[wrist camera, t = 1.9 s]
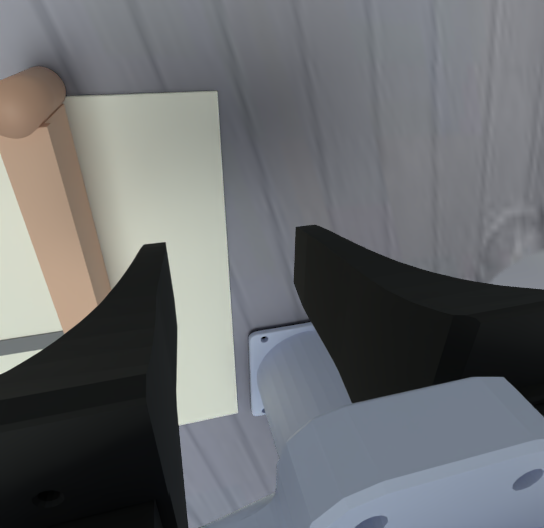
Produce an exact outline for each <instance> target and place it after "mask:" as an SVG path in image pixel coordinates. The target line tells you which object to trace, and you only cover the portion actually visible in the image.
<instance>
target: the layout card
mask: <svg viewBox="0 0 544 528" xmlns="http://www.w3.org/2000/svg"><path fill="white" fill-rule="evenodd" d="M62 104H64V106H65V110H66V114H67V118H68V122H69V126H70V130H71V134H72V138H73V142H74V146H75V150H76V154H77V158H78V162H79V165H80V169H81V173H82V177H83V181H84V185H85V189H86V193H87V197H88V201H89V205H90V209H91V213H92V217H93V221H94V225H95V228H96V232H97V236H98V240H99V244H100V248H101V252H102V256H103V260H104V264H105V268H106V272H107V276H108V280H109V284H110V288H111V290H112V289H113V288H114V286H115V285H116V284H117V283H118V281H119V280H120V279H121V277H122V276H123V275H124V273H125V272H126V270H127V269H128V268H129V266H130V264H131V263H132V261H133V260H134V258H135V257H136V255H137V253H138V252H139V250H140V248H141V247H142V246H143V245H144V244H152V243H161V242H166V248H167V254H168V261H169V267H170V274H171V280H172V286H173V293H174V299H175V309H176V318H177V327H178V328H177V383H176V395H177V413H178V424H179V425H184V424H188V423H193V422H198V421H202V420H207V419H212V418H217V417H221V416H226V415H231V414H235V413H238V407H237V391H236V376H235V360H234V344H233V328H232V313H231V297H230V281H229V265H228V250H227V234H226V218H225V202H224V187H223V171H222V155H221V139H220V124H219V108H218V92H217V91H196V92H169V93H141V94H113V95H85V96H65V100H64V102H63V103H62ZM62 335H64V332H63V329H62V326H61V324H60V321H59V318H58V315H57V312H56V309H55V307H54V304H53V301H52V298H51V295H50V293H49V290H48V287H47V284H46V281H45V278H44V276H43V273H42V270H41V267H40V264H39V261H38V259H37V256H36V253H35V250H34V247H33V245H32V242H31V239H30V236H29V233H28V230H27V228H26V225H25V222H24V219H23V216H22V213H21V211H20V208H19V205H18V202H17V199H16V196H15V194H14V191H13V188H12V185H11V182H10V180H9V177H8V174H7V171H6V168H5V165H4V163H3V160H2V157H1V154H0V374H2V373H4V372H6V371H8V370H10V369H12V368H13V367H15V366H17V365H19V364H20V363H22V362H24V361H25V360H27V359H29V358H30V357H32V356H33V355H35V354H37V353H38V352H40V351H41V350H43V349H44V348H46V347H47V346H49V345H50V344H52V343H53V342H55V341H56V340H57V339H59V338H60V337H61V336H62Z"/></svg>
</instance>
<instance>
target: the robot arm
mask: <svg viewBox="0 0 544 528" xmlns="http://www.w3.org/2000/svg"><path fill="white" fill-rule="evenodd" d="M294 284H295V287H296V290H297V293H298V295H299V298H300V300H301V303H302V306H303V308H304V310H305V312H306V313H307V315H308V317H309V319H310V321H311V322H309V323H303V324H297V325H291V326H285V327H279V328H273V329H268V330H262V331H256V332H253V333H251V334H250V335H249V338H248V342H249V369H250V396H251V412H252V415H254V416H261V415H265V414H266V416H267V420H268V423H269V426H270V430H271V433H272V437H273V440H274V443H275V447H276V450H277V454H278V457H279V461H278V463H277V476H276V491H275V493H273V494H271V495H269V496H266V497H264V498H262V499H260V500H258V501H256V502H254V503H252V504H249V505H247V506H245V507H243V508H241V509H239V510H237V511H235V512H232V513H230V514H228V515H226V516H224V517H222V518H220V519H218V520H215V521H213V522H211V523H209V524H207V525H205V526H203V527H199V528H544V290H542V289H531V288H519V287H509V286H500V285H493V284H487V283H481V282H474V281H469V280H464V279H458V278H454V277H450V276H445V275H441V274H437V273H433V272H429V271H426V270H422V269H419V268H416V267H413V266H410V265H407V264H403V263H400V262H398V261H395V260H392V259H390V258H387V257H385V256H382V255H380V254H378V253H375V252H373V251H371V250H368V249H366V248H364V247H362V246H360V245H358V244H355V243H353V242H351V241H349V240H347V239H345V238H343V237H341V236H339V235H337V234H335V233H333V232H331V231H329V230H327V229H324V228H322V227H320V226H317V225H309V226H300V227H296V237H295V263H294ZM177 328H178V327H177V318H176V309H175V299H174V293H173V286H172V280H171V274H170V267H169V261H168V254H167V248H166V242H161V243H152V244H144V245H143V246H142V247H141V248H140V250H139V252H138V253H137V255H136V257H135V258H134V260H133V261H132V263H131V264H130V266H129V268H128V269H127V270H126V272H125V273H124V275H123V276H122V277H121V279H120V280H119V281H118V283H117V284H116V285H115V286H114V288H113V289H112V290H111V291H110V292H109V294H108V295H107V296H106V297H105V298H104V300H103V301H102V302H101V303H100V304H99V305H98V306H97V307H96V308H95V309H94V310H93V311H92V312H90V313H89V314H88V315H87V316H86V317H85V318H84V319H83V320H82V321H80V322H79V323H78V324H77V325H75V326H74V327H73V328H71V329H70V330H69V331H68V332H66V333H65V334H64V335H62V336H61V337H60V338H59V339H57V340H56V341H55V342H53V343H52V344H50V345H49V346H47V347H46V348H44V349H43V350H41V351H40V352H38V353H37V354H35V355H33V356H32V357H30V358H29V359H27V360H25V361H24V362H22V363H20V364H19V365H17V366H15V367H13V368H12V369H10V370H8V371H6V372H4V373H2V374H0V528H188V520H187V510H186V500H185V489H184V479H183V468H182V457H181V447H180V436H179V424H178V413H177V395H176V383H177ZM264 336H266V338H264V339H261V338H262V337H264Z"/></svg>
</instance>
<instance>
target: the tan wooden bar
mask: <svg viewBox="0 0 544 528" xmlns="http://www.w3.org/2000/svg"><path fill="white" fill-rule="evenodd" d="M65 96H66V90H65V86H64V83H63V81H62V80H61V78H60V77H59V76H58V75H57V74H56V73H55V72H53V71H52V70H50V69H48V68H45V67H41V66H36V67H31V68H29V69H27V70H24V71H22V72H19V73H17V74H15V75H12V76H10V77H8V78H5V79H3V80H0V154H1V157H2V160H3V163H4V165H5V168H6V171H7V174H8V177H9V180H10V182H11V185H12V188H13V191H14V194H15V196H16V199H17V202H18V205H19V208H20V211H21V213H22V216H23V219H24V222H25V225H26V228H27V230H28V233H29V236H30V239H31V242H32V245H33V247H34V250H35V253H36V256H37V259H38V261H39V264H40V267H41V270H42V273H43V276H44V278H45V281H46V284H47V287H48V290H49V293H50V295H51V298H52V301H53V304H54V307H55V309H56V312H57V315H58V318H59V321H60V324H61V326H62V329H63V332H64V334H65V333H66V332H68V331H69V330H70V329H71V328H73V327H74V326H75V325H77V324H78V323H79V322H80V321H82V320H83V319H84V318H85V317H86V316H87V315H88V314H89V313H90V312H92V311H93V310H94V309H95V308H96V307H97V306H98V305H99V304H100V303H101V302H102V301H103V300H104V298H105V297H106V296H107V295H108V294H109V292H110V291H111V288H110V284H109V280H108V276H107V272H106V268H105V264H104V260H103V256H102V252H101V248H100V244H99V240H98V236H97V232H96V228H95V225H94V221H93V217H92V213H91V209H90V205H89V201H88V197H87V193H86V189H85V185H84V181H83V177H82V173H81V169H80V165H79V162H78V158H77V154H76V150H75V146H74V142H73V138H72V134H71V130H70V126H69V122H68V118H67V114H66V110H65V106H64V104H62V103H63V102H64V100H65Z"/></svg>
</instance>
